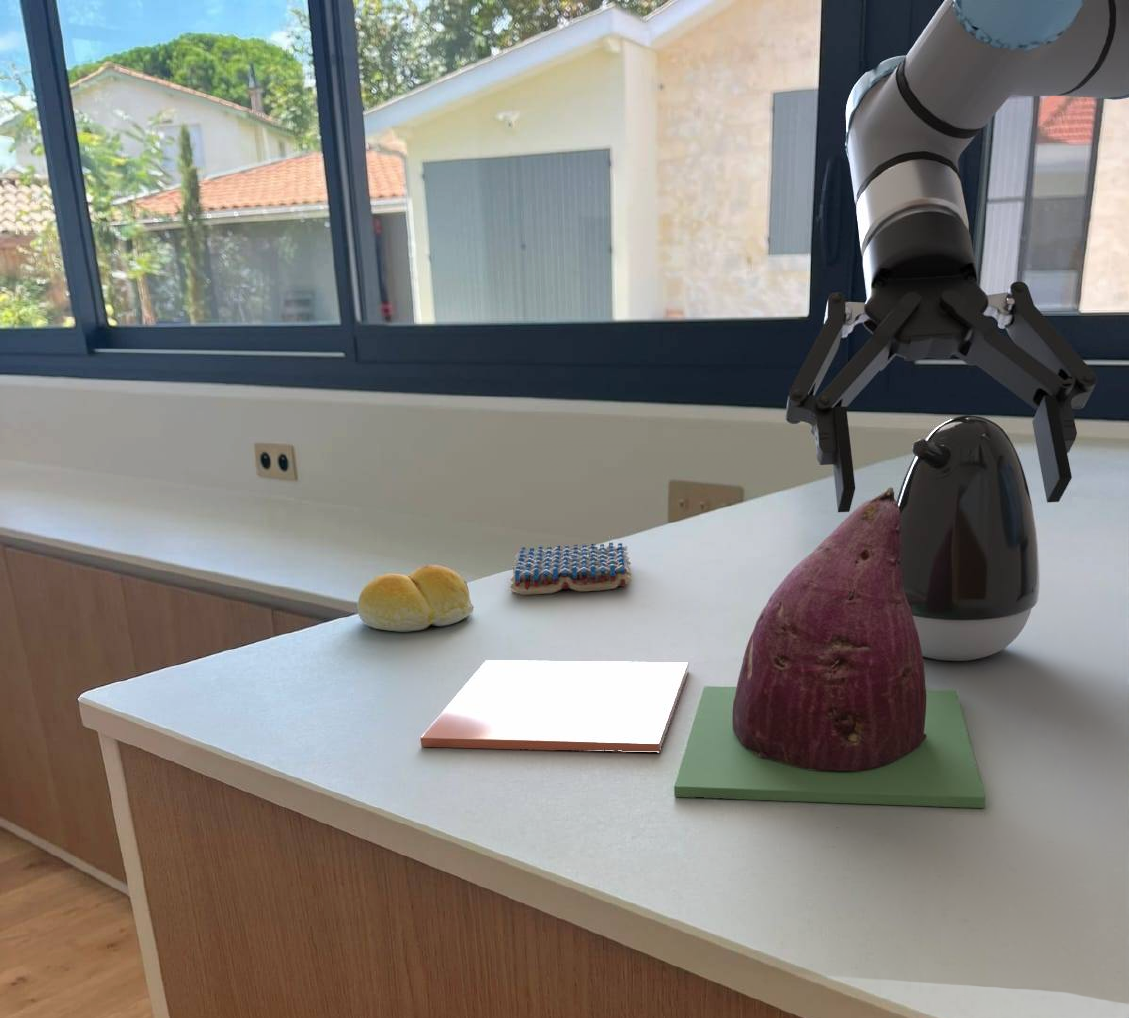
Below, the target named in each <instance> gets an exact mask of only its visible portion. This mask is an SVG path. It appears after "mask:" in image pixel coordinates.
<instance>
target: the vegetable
mask: <svg viewBox="0 0 1129 1018" xmlns="http://www.w3.org/2000/svg"><path fill="white" fill-rule="evenodd" d="M900 548H901V514H900V510H899V506H898V504H897V502H896V498H895V491H894V487H889V488H887V489H886V490H885V491H883V492H881V493H880V494H879V495H878V496H875V497H874V498H871V499H869V500H866V501H864V502H861V504H860V505H859V506H857V508H855V509H854V510H853V511H852V512H851V513H850V514H849V515H848V516H847V517H846V518H845V519H844V520H843V521H842V522H841V523H840V524H839V525H838V526H837V527H836V528H835V529H834V530H833V531H832V532H831V533H830V534H829V535H828V536H827V537H826V538H824V540H822V542H821V543H820V544H819V545H818V546H817V547H816V548H815V549H814V550H812V552H811V553H810V554H808V555H807V556H806V557H804V558H803V559H802V560H800V562H799V563H798V564H796V565H795V566H794V567H793V569H792V570H791V571H790V572H789V573H788V574H787V575H786V576H785V578H784V579H783V580H782V581H781V583H779V585H778V586H777V588H776V589H775V590H774V591H773V593H772V594H771V596H770V597H769V599H768V601H767V602H766V605H765V606H764V607H763V609H762V611H761V612H760V614H759V616H758V618H757V620H756V622H755V625H754V628H753V630H752V632H751V635H750V637H749V639H748V641H747V644H746V648H745V651H744V655H743V658H742V662H741V667H740V671H739V674H738V679H737V684H736V687H737V688H736V693H735V697H734V701H733V715H732V725H733V731H734V733H735V735H736V737H737V738H738V739H739V740H740V742H741V744H743V745H744V746H745V747H746V748H748V749H749V750H751V751H753V752H755V753H757V754H759V757H762V758H769V759H772V760H776V761H779V762H782V763H787V764H789V765H793V766H797V767H802V768H806V769H810V770H821V771H836V772H842V771H846V772H850V771H863V770H868V769H872V768H876V767H879V766H883V765H886V764H888V763H890V762H893V761H894V760H897V759H899V758H901V757H902V756H904V755H906V754H908V753H910V752H912V751H914V750H915V749H917V748H918V747H919V746H920V745H921V742H922V741H923V740H924V739H925V738H926V737H927V736H926V734H925V733H924V728H925V716H926V700H927V696H926V690H927V686H926V674H925V664H924V656H922V652H921V646H920V641H919V636H918V632H917V629H916V626H915V622H914V619H913V616H912V613H911V610H910V607H909V604H908V602H907V599H906V595H905V592H904V588H903V583H902V576H903V575H902V571H901V564H900Z"/></svg>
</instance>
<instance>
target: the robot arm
mask: <svg viewBox="0 0 1129 1018" xmlns="http://www.w3.org/2000/svg"><path fill="white" fill-rule="evenodd" d="M1012 96H1018V97H1020V96H1021V97H1075V98H1094V99H1095V98H1097V99H1100V100H1101V99H1102V100H1113V101H1114V100H1123V99H1128V98H1129V0H944V1H943V2H942V3H941V5H940V6H939V7H938V9H937V10H936V12H935V14H934V15H933V16H932V18H931V19H930V21H929V22H928V23H927V25H926V26H925V28H924V29H923V31H922V32H921V34H920V35H919V37H918V38H917V40H916V41H915V43H914V44H913V45H912V47H911V48H910V50H909V51H908V52H907V54H906V55H898V56H894V57H889V58H888V59H885V60H883V61H881V62H880V63H879V64H878V65H877V66H876V67H874V68H872V69H871V70H869V71H866V72H865V73H864V74H863V75H862V76H861V77H860V78H859V79H858V81H857V82H856V83H855V84H854V86H853V88H852V90H851V91H850V94H849V96H848V99H847V103H846V109H845V121H846V123H845V124H846V133H845V143H844V144H845V153H846V155H847V158H848V163H849V169H850V176H851V184H852V190H853V198H854V206H855V211H856V218H857V226H858V236H859V246H860V253H861V257H862V271H863V278H864V286H865V294H866V301H865V302H858V301H855V302H854V301H846V296H845V295H844V293H841V292H838V291H836V292H835V291H834V292H832V293H830V294H829V296H828V297H827V303H826V308H825V313H824V320H823V325H822V327H821V329H820V331H819V333H818V335H817V337H816V339H815V341H814V343H813V345H812V346H811V348H810V351H809V353H807V354H808V355H806V358H805V360H804V362H803V364H802V366H801V368H800V370H799V372H798V373H797V375H796V378H795V380H794V382H793V383H792V385H791V388H790V389H789V391H788V396H787V403H786V408H785V409H786V410H785V420H786V422H787V423H789V424H791V425H792V424H793V425H797V424H800V423H801V422H804V423H805V424H806V423H807V424H808V425H810V433H811V434H812V436H813V437H814V444H815V453H816V460H817V462H818V463H819V465H820V466H826V465H827V466H828V465H831V466H832V468H833V469H832V470H833V478H834V485H835V486H834V488H835V497H836V508H837V513H850V511H851V507H852V503H853V499H854V496H855V492H856V483H855V473H854V472H855V471H854V463H853V455H852V447H851V437H850V428H849V419H848V418H849V417H848V409H847V407H849V405H850V404H851V403H852V402H853V400H854V399H855V398H856V397H857V396H858V395H859V394H860V392H861V391H862V390H864V389H865V387H866V386H867V385H868V384H869V383H870V382H871V380H873V378H874V377H875V376H876V375H877V374H878V373H879V371H880V372H882V371H883V370H884V369H886V367H887V366H888V365H889V364H890V363H891V361H892V360H894V358H895V357H896V356H898V357H900V358H904V362H912V361H919V360H923V359H927V358H928V359H934V360H935V359H936V360H949V359H951V357H952V356H953V355H954V356H956V357H957V358H959V359H960V360H961V361H962V362H964V363H965V364H966V365H968V366H970V367H973V366H977V367H979V368H980V370H983V372H985V373H987V374H988V375H989V376H991V377H992V379H994V380H996V381H997V382H998V383H1000V384H1001V385H1002V386H1004V387H1005V388H1007V389H1008V390H1009V391H1011V392H1012V393H1013V394H1014V395H1016V396H1017V397H1018V398H1020V399H1021V400H1023V401H1024V402H1025V403H1026V404H1028V405H1029V406H1030V407H1032V408H1033V409H1034V410H1036V413H1035V415H1034V416H1033V418H1032V421H1031V424H1032V429H1033V433H1034V439H1035V440H1034V441H1035V445H1036V450H1037V456H1038V461H1039V467H1040V472H1041V477H1042V478H1041V479H1042V483H1043V488H1044V493H1045V499H1046V503H1060V501H1061V498H1062V497H1063V495H1064V494H1065V491H1066V489H1067V488H1068V486H1069V484H1070V483H1071V481H1072V478H1073V476H1072V470H1071V466H1070V461H1069V456H1068V455H1069V453H1070V451H1071V449H1072V447H1073V445H1074V443H1075V441H1076V439H1077V436H1078V430H1077V426H1076V422H1075V416H1074V412H1073V411H1074V410H1081V409H1083V408H1085V406H1086V404H1087V402H1088V401H1089V398H1090V397H1091V394H1092V393H1093V390H1094V388H1095V386H1096V384H1097V382H1098V376H1097V374H1096V373H1095V372H1094V371H1093V370H1092V368H1091V367H1090V366H1089V365H1088V364H1087V363H1086V362H1085V361H1084V360H1083V359H1082V357H1081V356H1080V355H1079V354H1078V353H1077V352H1076V350H1075V349H1073V347H1072V346H1071V345H1070V344H1069V343H1068V341H1066V339H1065V338H1064V337H1063V336H1062V335H1061V334H1060V332H1059V331H1058V330H1057V329H1056V328H1055V327H1054V326H1053V325H1052V324H1051V322H1050V321H1049V320H1048V319H1047V317H1045V316H1044V315H1043V313H1042V312H1041V311H1040V310H1039V309H1038V307H1036V305H1035V302H1034V301H1033V298H1032V295H1031V291H1030V288H1029V285H1027V284H1026V283H1025V281H1014V282H1012V283H1011V284H1010V287H1009V289H1008V291H1007V292H1001V293H994V294H993V293H992V294H987V293H986V292H985V291H984V290H983V289H982V288H981V286H980V285H979V282H978V273H977V267H976V259H975V253H974V249H973V243H972V238H971V234H970V231H969V230H970V229H969V227H970V225H969V219H968V213H967V209H966V203H965V198H964V193H963V186H962V185H963V184H962V180H961V175H960V169H959V168H960V167H959V161H958V160H959V158H960V156H961V154H962V153H963V152H964V151H965V150H966V148H967V147H968V146H969V145H970V143H971V142H972V141H973V140H974V139H975V137H976V136H977V135H978V134H980V132H982V130H983V129H984V128H985V126H986V125H987V124H988V123H989V122H990V120H991V119H992V118H993V117H994V116H995V115H996V113H997V112H998V111H999V110H1000V109H1001V107H1002V106H1003V105H1004V104H1005V103H1006V102H1007V100H1008V99H1009V98H1011V97H1012ZM990 317H992V318H994V319H995V320H996V321H997V325H996V323H995V322H994V321H993V320H992V319H991V318H990ZM859 324H862V325H863V326H864V328H865V330H867V331H868V332H869V333H870V334H872V335H871V336H870V338H869V339H868V340H867V341H866V343H865V344H864V345H863V346H862V347H861V348H860V349H859V350H858V352H856V353H855V354H854V356H853V357H852V358H851V359H850V360H849V361H848V362H847V364H846V365H844V366H843V368H842V369H841V370H840V371H839V373H837V375H836V376H835V377H834V378H833V379H832V380H831V381H830V382H829V384H828V385H826V387H825V388H824V389H823V390H822V391H821V392H820V393H819V395H816V393H817V391H818V389H819V387H820V385H821V384H822V382H823V380H824V378H825V375H826V373H827V372H828V370H829V368H830V366H831V364H832V362H833V360H834V358H835V356H836V354H837V352H838V349H839V347H840V344H841V339H843V338H844V339H845V338H847V337H848V335H849V334H851V333H852V332H853V330H854V328H855V326H856V325H859ZM997 327H998V328H999V329H1004V330H1006V332H1007V334H1008V336H1009V338H1010V339H1009V338H1008V337H1007V336H1006V335H1004V334H1003V333H1001V332H1000V331H998V329H997ZM972 335H973V338H972V341H970V339H971V337H972Z"/></svg>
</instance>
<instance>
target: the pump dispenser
mask: <svg viewBox="0 0 1129 1018" xmlns="http://www.w3.org/2000/svg"><path fill="white" fill-rule="evenodd" d="M911 451H912V455H914V456H913V458H912V460H911V462H910V464H909V466H908V468H907V471H906V473H905V475H904V477H903V480H902V482H901V485H900V488H899V489H898V493H897V496H896V498H895V500H896V502H897V504H898V506H899V510H900V514H901V548H900V564H901V571H902V575H903V576H902V583H903V588H904V592H905V595H906V599H907V602H908V604H909V607H910V610H911V613H912V616H913V619H914V622H915V626H916V629H917V632H918V636H919V641H920V646H921V652H922V657H923V658H927V659H932V660H938V661H947V662H967V661H974V660H979V659H983V658H985V657H986V658H987V657H989V656H991V655H994V654H997V653H998V652H1001V651H1002V650H1004V649H1005V648H1006V647H1008V646H1009V645H1010V644H1012V643H1013V641H1015V640H1016V639H1017V637H1018V636H1019V635H1020V634H1021V632H1022V631H1023V629H1025V626H1026V624H1027V622H1028V620H1029V617H1030V614H1031V611H1032V609H1033V608H1034V607H1036V605H1037V604H1038V602H1039V596H1040V583H1041V577H1040V575H1041V573H1040V570H1041V569H1040V554H1039V553H1040V552H1039V542H1038V541H1039V540H1038V532H1037V525H1036V518H1035V513H1034V508H1033V503H1032V499H1031V492H1030V489H1029V485H1028V481H1027V477H1026V474H1025V470H1024V468H1023V464H1022V461H1021V459H1020V456H1019V454H1018V452H1017V450H1016V448H1015V446H1014V444H1013V441H1012V440H1011V438H1010V437H1009V435H1008V434H1007V433H1006V431H1005V429H1004V428H1002V427H1001V426H1000V425H999V424H997V423H996V422H994V421H992V420H991V419H989V418H986V417H985V416H984V417H983V416H979V415H969V414H967V415H960V416H955V417H953V418H950V419H947V420H945V421H944V422H942V423H940V424H939V425H937V426H935V428H934V429H932V431H930V433H929V434H928V435H927V437H925V439H924V438H920V439H916V441H915V442H914V443H913V445H912V447H911Z"/></svg>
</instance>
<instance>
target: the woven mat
mask: <svg viewBox="0 0 1129 1018" xmlns="http://www.w3.org/2000/svg"><path fill="white" fill-rule="evenodd" d="M514 556H515V557H514V564H513V568H512V571H513V572H512V576H511V578H510V579H509V580H510V582H511V583H510V584H509V585H508V588H509V589H510V591H512V592H513V593H516V594H519V595H522V596H527V595H528V596H529V595H543V594H553V593H556V592H558V591H561V590H566V589H567V590H568V589H570V590H573V591H576V592H579V593H580V592H594V591H596V592H597V591H610V590H613V589H616V588H617V587H621V586H622V587H626V586H628V585H629V584H631V583H632V581H633V578H632V577H630V576H631V575H632V572H631V568H630V565H631V562H630V556H629V552H628V546H627V545H625V546H623V543H622V542H620V543H617V546H615V545H614V542H608V546H607V547H606V546H605V544H604V543H600V544H599V546H597V545H596V543H591V545H590V546H589V547H588V545H587V544H584V545H583V544H582V548H581V547H579V545H578V544H573V546H572V547H570V546H569V545H566V546H564V548H562V547H561V545H556V547H555V548H553V549H552V546H550V547H549V546H548V547H547V548H546V550H544V546H538V550H536V551H535V548H534V547H531V548H529V551H527V549H526V547H521V550H520V551H518V552H516V553H514Z"/></svg>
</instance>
